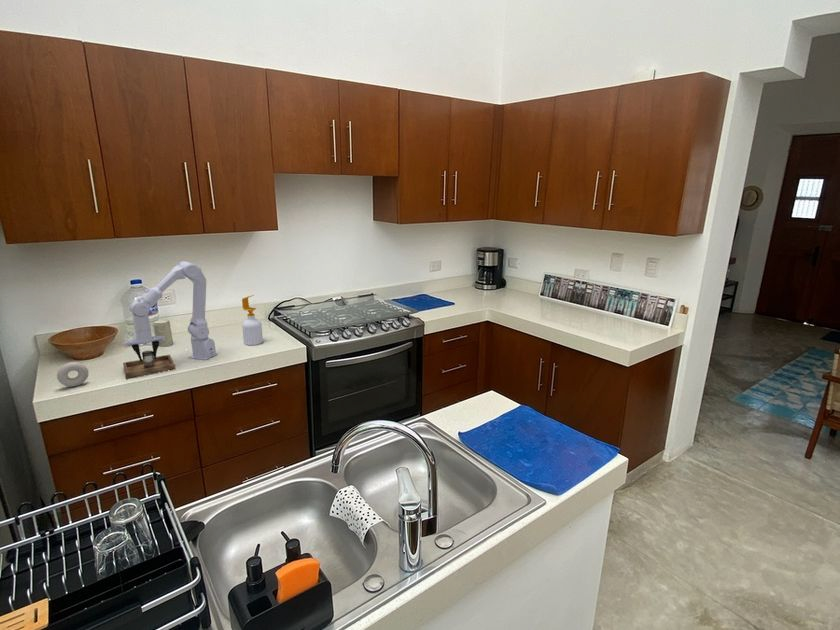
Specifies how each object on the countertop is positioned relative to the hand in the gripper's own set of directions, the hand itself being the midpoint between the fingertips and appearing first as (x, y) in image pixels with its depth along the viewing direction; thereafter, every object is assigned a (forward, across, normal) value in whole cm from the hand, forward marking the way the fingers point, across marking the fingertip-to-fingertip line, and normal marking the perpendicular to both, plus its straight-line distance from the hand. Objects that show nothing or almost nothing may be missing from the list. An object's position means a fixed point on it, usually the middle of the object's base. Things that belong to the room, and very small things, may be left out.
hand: (147, 359), depth 196 cm
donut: (+5, +26, +3) cm, 27 cm away
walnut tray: (+4, 0, 0) cm, 4 cm away
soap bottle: (+5, -47, -9) cm, 48 cm away
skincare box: (+5, -10, -30) cm, 32 cm away
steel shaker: (+4, 0, 0) cm, 4 cm away
